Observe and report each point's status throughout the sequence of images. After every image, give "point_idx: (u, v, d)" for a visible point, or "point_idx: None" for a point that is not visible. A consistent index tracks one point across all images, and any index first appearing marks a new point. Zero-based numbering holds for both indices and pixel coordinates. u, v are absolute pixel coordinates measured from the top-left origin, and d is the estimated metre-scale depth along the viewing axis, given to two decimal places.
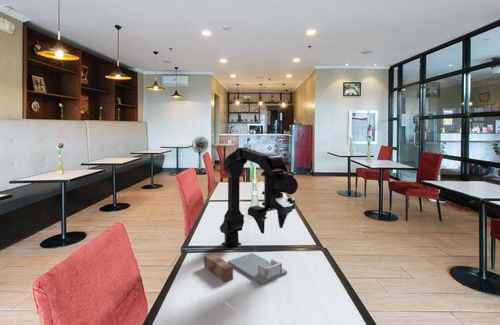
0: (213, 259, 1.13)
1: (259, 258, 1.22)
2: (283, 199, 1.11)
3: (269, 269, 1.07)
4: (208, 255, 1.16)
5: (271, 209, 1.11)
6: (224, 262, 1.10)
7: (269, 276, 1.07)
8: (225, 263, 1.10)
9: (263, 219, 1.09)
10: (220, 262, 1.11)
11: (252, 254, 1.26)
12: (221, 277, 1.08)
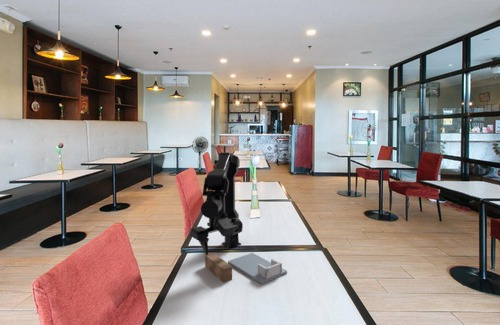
0: (213, 259, 1.13)
1: (259, 258, 1.22)
2: (227, 220, 1.07)
3: (269, 269, 1.07)
4: (209, 255, 1.17)
5: (215, 230, 1.08)
6: (224, 262, 1.10)
7: (269, 276, 1.07)
8: (224, 263, 1.10)
9: (205, 241, 1.06)
10: (220, 262, 1.11)
11: (252, 254, 1.26)
12: (220, 277, 1.08)
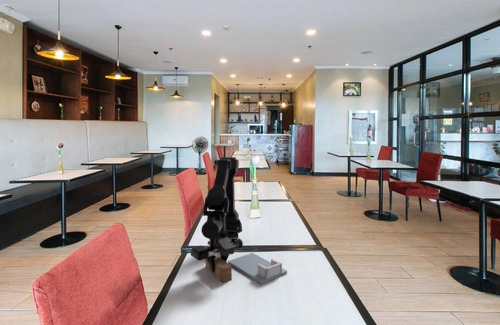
0: None
1: (259, 258, 1.22)
2: (227, 239, 1.08)
3: (269, 269, 1.07)
4: None
5: None
6: (223, 262, 1.10)
7: (269, 276, 1.07)
8: (224, 263, 1.09)
9: (212, 258, 1.08)
10: (220, 261, 1.11)
11: (252, 254, 1.26)
12: (219, 277, 1.08)
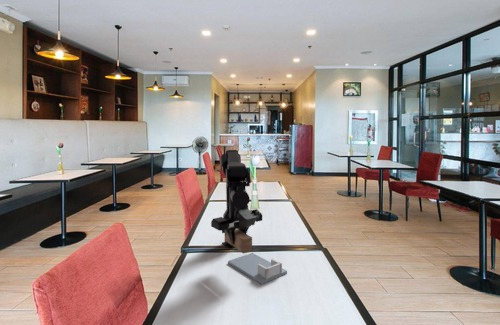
0: None
1: (259, 258, 1.22)
2: (247, 211, 1.08)
3: (269, 269, 1.07)
4: None
5: None
6: (243, 234, 1.10)
7: (269, 276, 1.07)
8: (244, 235, 1.09)
9: (232, 230, 1.08)
10: (240, 233, 1.10)
11: (252, 254, 1.26)
12: (240, 248, 1.07)
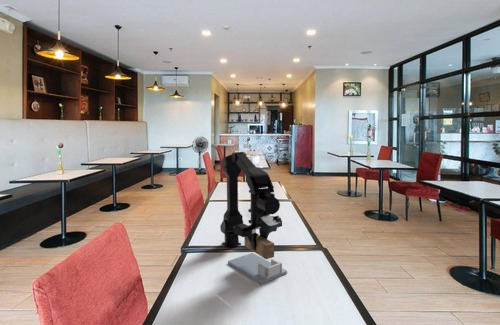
0: None
1: (259, 258, 1.22)
2: (269, 217, 1.09)
3: (269, 269, 1.07)
4: None
5: None
6: (265, 240, 1.12)
7: (269, 276, 1.07)
8: (266, 241, 1.11)
9: (254, 236, 1.09)
10: (261, 239, 1.12)
11: (252, 254, 1.26)
12: (262, 254, 1.09)
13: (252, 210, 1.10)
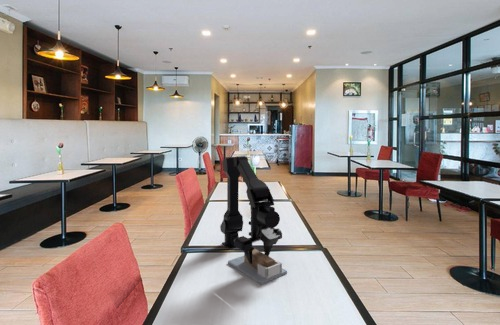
0: (254, 253, 1.15)
1: None
2: (269, 230, 1.10)
3: (269, 269, 1.07)
4: None
5: (259, 239, 1.11)
6: (265, 256, 1.12)
7: (269, 276, 1.07)
8: (266, 257, 1.12)
9: (251, 250, 1.09)
10: (262, 255, 1.13)
11: None
12: None
13: (252, 223, 1.11)
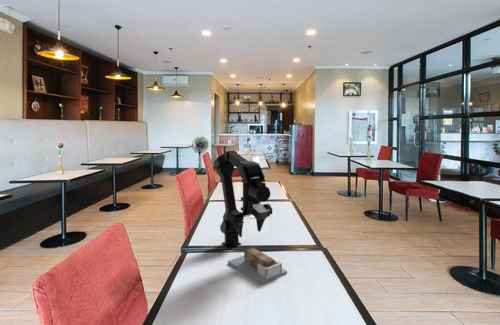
0: (254, 253, 1.15)
1: None
2: (260, 205, 1.17)
3: (269, 269, 1.07)
4: (248, 249, 1.19)
5: (248, 214, 1.18)
6: (265, 256, 1.12)
7: (269, 276, 1.07)
8: (266, 257, 1.12)
9: (240, 224, 1.16)
10: (262, 255, 1.13)
11: None
12: None
13: (244, 198, 1.18)
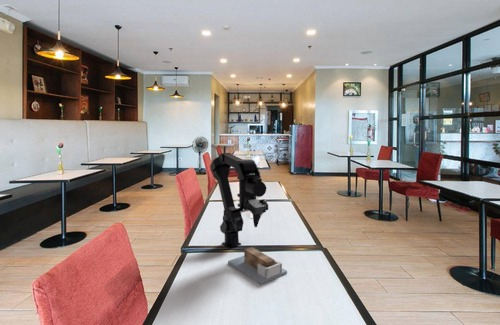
0: (254, 253, 1.15)
1: None
2: (256, 201, 1.21)
3: (269, 269, 1.07)
4: (248, 249, 1.19)
5: (245, 210, 1.22)
6: (265, 256, 1.12)
7: (269, 276, 1.07)
8: (266, 257, 1.12)
9: (237, 219, 1.19)
10: (262, 255, 1.13)
11: None
12: None
13: (240, 194, 1.22)
